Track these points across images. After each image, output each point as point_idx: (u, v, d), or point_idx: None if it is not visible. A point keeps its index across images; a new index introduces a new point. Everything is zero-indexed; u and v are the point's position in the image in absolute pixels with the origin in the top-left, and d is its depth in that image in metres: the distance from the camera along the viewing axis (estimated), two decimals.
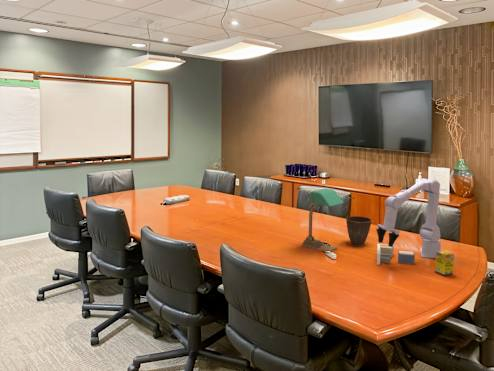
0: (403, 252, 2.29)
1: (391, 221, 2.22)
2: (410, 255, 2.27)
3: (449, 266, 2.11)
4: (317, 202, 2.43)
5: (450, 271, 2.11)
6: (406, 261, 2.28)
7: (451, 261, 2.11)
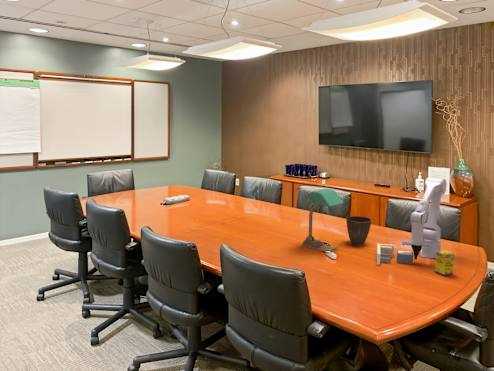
0: (402, 252, 2.29)
1: (422, 236, 2.24)
2: (409, 255, 2.27)
3: (449, 266, 2.11)
4: (317, 202, 2.43)
5: (450, 271, 2.11)
6: (405, 261, 2.28)
7: (451, 261, 2.11)
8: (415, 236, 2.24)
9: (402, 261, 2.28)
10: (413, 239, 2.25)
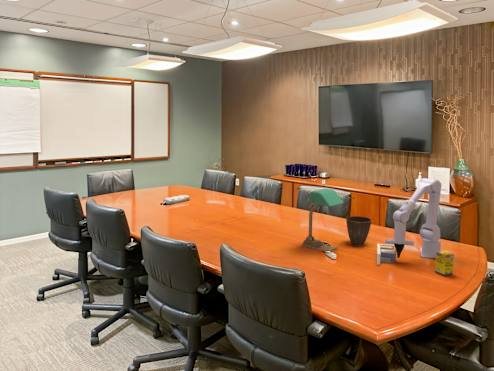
0: (385, 250, 2.32)
1: (404, 235, 2.27)
2: (392, 253, 2.29)
3: (449, 266, 2.11)
4: (317, 202, 2.43)
5: (450, 271, 2.11)
6: None
7: (451, 261, 2.11)
8: (397, 235, 2.27)
9: None
10: (396, 238, 2.28)
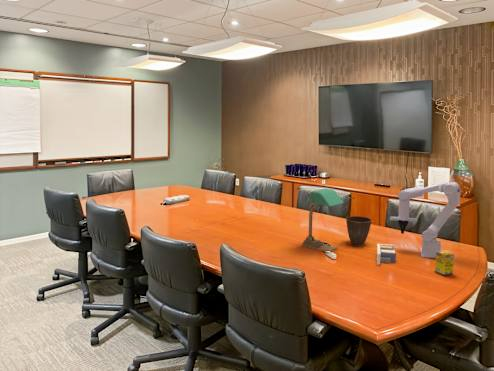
0: (385, 251, 2.32)
1: (408, 212, 2.45)
2: (391, 253, 2.29)
3: (449, 266, 2.11)
4: (317, 202, 2.43)
5: (450, 271, 2.11)
6: None
7: (451, 261, 2.11)
8: (402, 212, 2.44)
9: None
10: (400, 215, 2.45)
